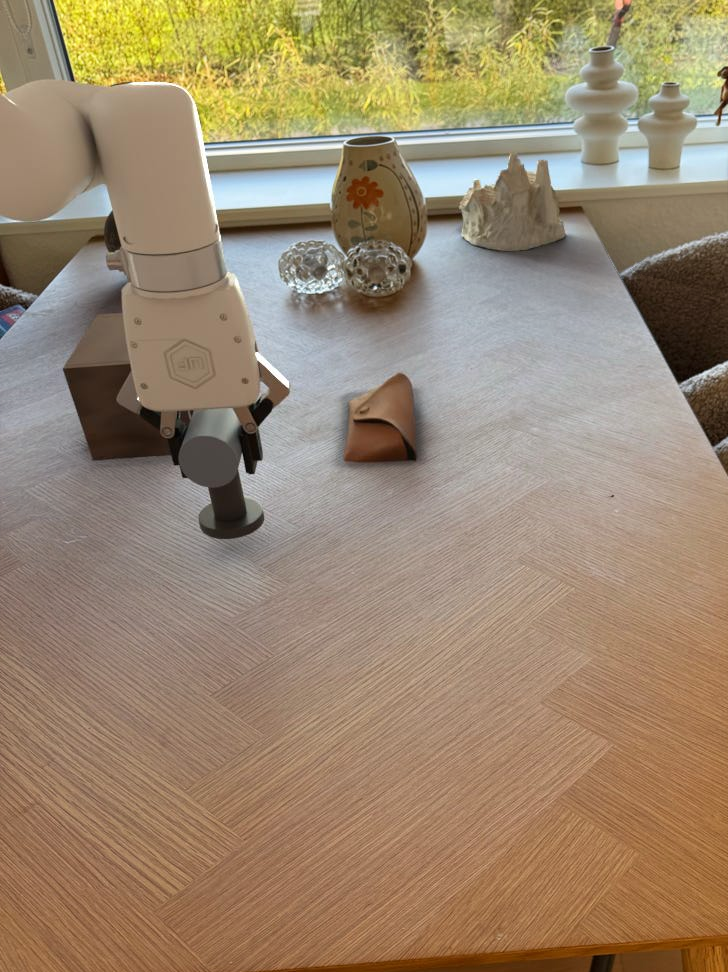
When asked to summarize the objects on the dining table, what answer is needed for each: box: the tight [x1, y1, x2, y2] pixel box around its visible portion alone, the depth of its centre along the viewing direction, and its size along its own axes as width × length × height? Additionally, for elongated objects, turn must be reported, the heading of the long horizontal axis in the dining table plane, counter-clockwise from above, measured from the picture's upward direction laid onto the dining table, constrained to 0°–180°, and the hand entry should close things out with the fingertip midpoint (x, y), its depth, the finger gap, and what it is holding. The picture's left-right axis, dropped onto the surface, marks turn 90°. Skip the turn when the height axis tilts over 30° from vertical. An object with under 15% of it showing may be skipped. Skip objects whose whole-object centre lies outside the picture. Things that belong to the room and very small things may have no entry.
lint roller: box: [179, 408, 265, 540], centre depth 87 cm, size 6×8×11 cm
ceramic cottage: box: [458, 151, 566, 252], centre depth 163 cm, size 16×16×15 cm
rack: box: [62, 312, 194, 461], centre depth 112 cm, size 12×16×12 cm
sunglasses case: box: [342, 372, 418, 464], centre depth 110 cm, size 18×7×7 cm
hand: (220, 467), depth 87 cm, fingers closed on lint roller, 5 cm apart
